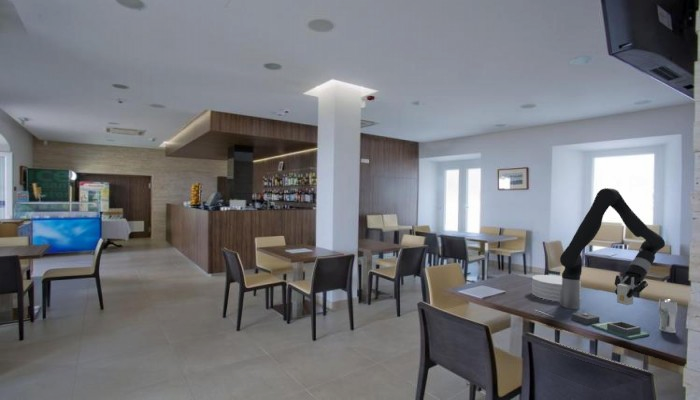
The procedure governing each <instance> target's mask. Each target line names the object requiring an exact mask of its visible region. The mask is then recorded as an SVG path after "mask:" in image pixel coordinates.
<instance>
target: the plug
mask: <svg viewBox="0 0 700 400" xmlns="http://www.w3.org/2000/svg"><path fill="white" fill-rule="evenodd" d="M616 289H617V294H616V303H617V304H619V305H620V304H621V305H624V306H629V305H630V306H631V305H634V295H633V296H632V297H630V298H628V297H627V293H628V292H629V290H630V289H631V285H627V284H617V287H616Z"/></svg>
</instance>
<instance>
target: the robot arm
mask: <svg viewBox="0 0 700 400" xmlns="http://www.w3.org/2000/svg"><path fill="white" fill-rule="evenodd" d="M610 207H611V208H612V209H613V210H614V211H616V213H617V214H618V215H619V217H620V219H621V220H622V222H623V224H624V226H625V227H626V228H627V229H628V230H629V231H630V232H631V233H632V234H633V236H634V237H636V238H643V239H644V241H643V242H642V244H641V245H640V248H639V251H638V252H637V253H636V256H635V257H634V259H633V260H632V261H631V262H630V264H629V266H628V267H627V269H626V271H625V274H623V275H622V276H620V275H616V276H615V278H614V286H615V287H616V289H615V290H614V292H615V295H617V284H627V285H631V289H630V290H629V292H628V293H627V297H628V298H630V297H632V296H633V297H634V294H635V293H641V292H642V291H644V289H646V288H647V287H648V286H649V284H648V282H647V281H646V280H644V279H645V278H646V276H647V274H648V273H649V271H650V270H651V266H652V265H653V263H654V262H655V260H656V253H658V252H659V251H660V250H662V249H663V248H664V247H665V246H666V243H665V240H664V238H663V237H662V236H661V235H660V234H658V233H657V232H655V231H654V230H653V229H650V228H649V227H648V226H647V225H646V224H645V223H644V222H643V221H642V220H641V219H640V217H639V216H638V215H637V214H636V213H635V211H633V210H632V208H631V207H630V206H629V205H628V203H627V202H626V201H625V200H624V198H623V196H622V195H621V193H620V192H619V190H618V189H615V188H611V187H610V188H608V187H605V188H602V189H600V190H599V191H598V192H597V193H596V195H595V198H594V200H593V202H592V204H591V207H590V208H589V210H588V211H587V213H586V215H585V216H584V218H583V220H582V221H581V222H580V225H579V226H578V227H577V230H576V232H575V233H574V235H573V236H572V238H571V241H570V242H569V244H568V245H567V247H566V248H565V250H564V251H563V252H562V254H561V256H559V257H560V258H559V260H560V264H561V265H562V266H563V267H564V269H563V271H562V273H561V276H562V289H561V290H560V302H559V305H560V306H561V307H563V308H566V309H569V310H570V309H571V310H579V309H581V307H580V305H581V304H580V303H581V300H580V298H581V297H580V294H581V293H580V290H581V289H580V286H581V285H580V282H581V276H582V270H583V257H582V255H581V253H582V252H583V250H584V249H585V248H586V247H587V246H588V245H590V243H591V242H592V241H593V240H594V239H595V237H596V236H597V234H598V232H599V231H600V229H601V227H602V224H603V223H602V222H603V218H604V215H605V213H606V212H607V210H608V209H609V208H610Z"/></svg>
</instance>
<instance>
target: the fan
mask: <svg viewBox="0 0 700 400" xmlns="http://www.w3.org/2000/svg"><path fill="white" fill-rule="evenodd" d="M570 319H571V320H573V321H576V322H578V323H580V324H584V325H588V326H589V325H591V324H597V323H600V316H598V315H595V314H592V313H589V312H585V311H579V312H573V313H570Z"/></svg>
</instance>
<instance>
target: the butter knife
mask: <svg viewBox="0 0 700 400" xmlns="http://www.w3.org/2000/svg"><path fill="white" fill-rule="evenodd" d="M534 311H535V312H537V311H538V309H534ZM540 312H541V313H540ZM537 313H540V314H544V315H547V316H549V317H552V318H555V316H554V315H550V314H548V313H547V312H546V313H545V312H543V311H540V310H539V311H538V312H537Z"/></svg>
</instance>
